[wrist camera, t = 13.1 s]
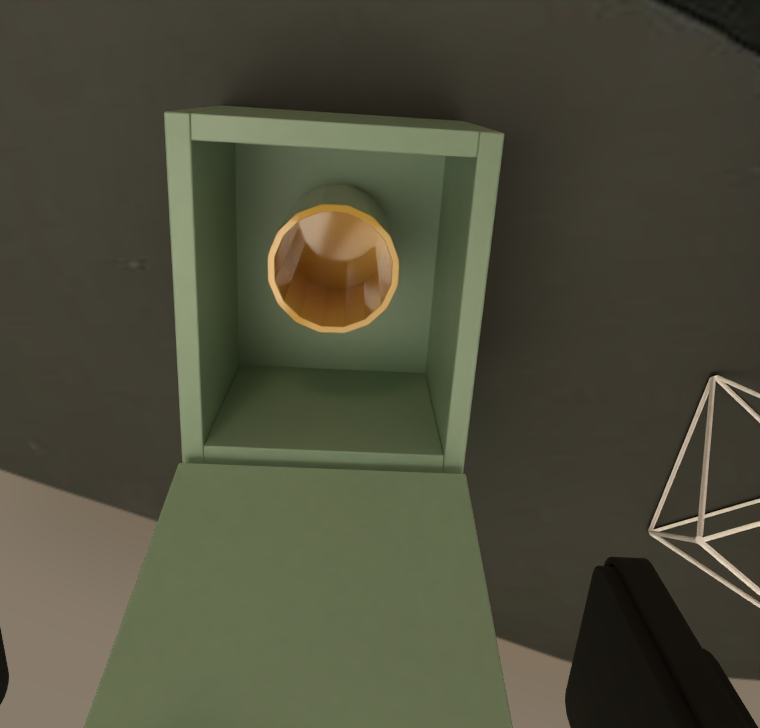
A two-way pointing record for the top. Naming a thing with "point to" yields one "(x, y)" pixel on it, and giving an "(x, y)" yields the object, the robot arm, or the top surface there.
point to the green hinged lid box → (304, 345)
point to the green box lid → (307, 606)
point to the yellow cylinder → (334, 260)
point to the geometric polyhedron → (699, 538)
